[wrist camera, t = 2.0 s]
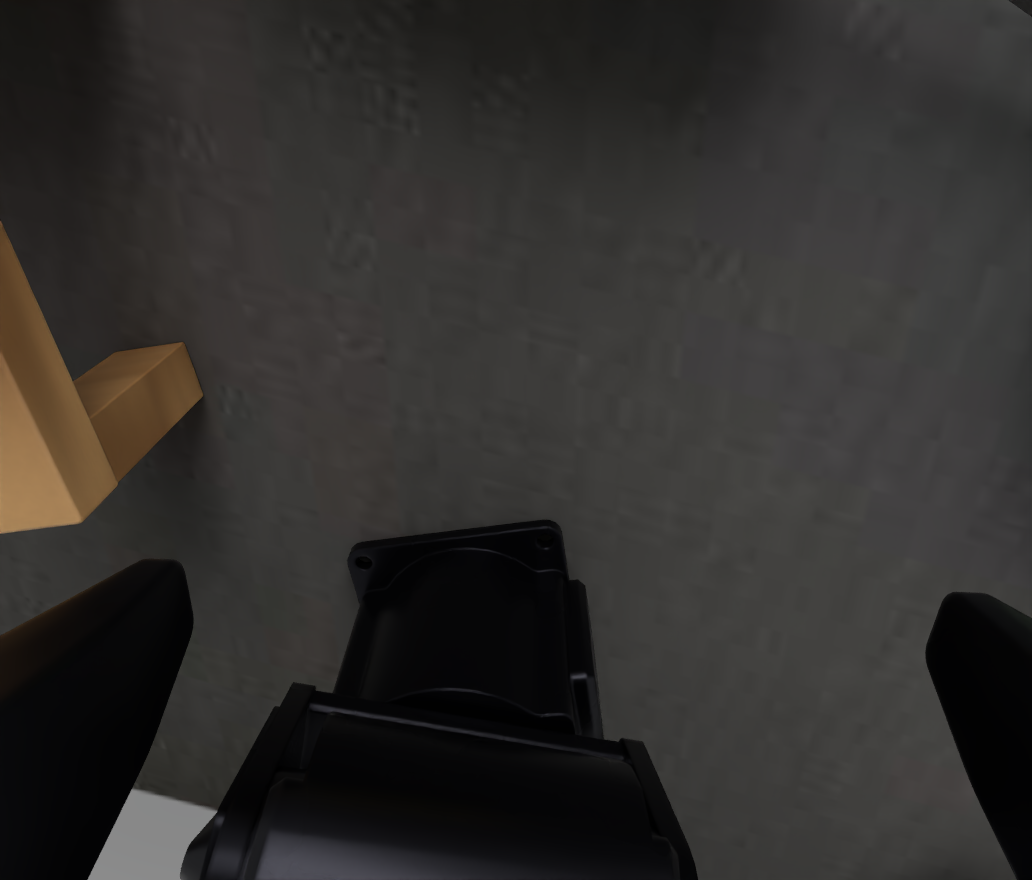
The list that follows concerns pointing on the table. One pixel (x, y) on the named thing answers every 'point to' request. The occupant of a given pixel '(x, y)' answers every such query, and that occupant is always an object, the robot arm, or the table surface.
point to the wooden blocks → (74, 412)
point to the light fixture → (1024, 5)
